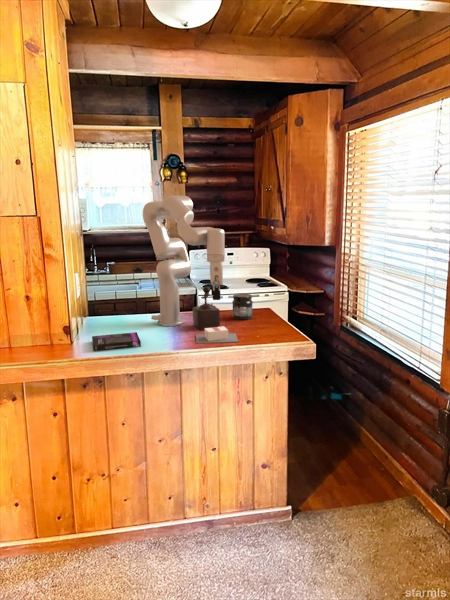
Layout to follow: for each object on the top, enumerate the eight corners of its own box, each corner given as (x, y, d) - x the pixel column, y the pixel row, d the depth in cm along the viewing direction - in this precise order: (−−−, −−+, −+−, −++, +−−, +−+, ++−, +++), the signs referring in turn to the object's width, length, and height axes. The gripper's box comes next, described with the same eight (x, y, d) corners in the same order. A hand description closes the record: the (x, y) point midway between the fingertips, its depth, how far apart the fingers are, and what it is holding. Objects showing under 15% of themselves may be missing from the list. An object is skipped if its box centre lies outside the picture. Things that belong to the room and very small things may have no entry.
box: (137, 339, 199) (92, 342, 193) (137, 331, 198) (91, 335, 193) (140, 348, 186) (92, 352, 180) (140, 340, 185) (91, 344, 180)
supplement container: (243, 314, 237) (243, 292, 235) (256, 318, 229) (257, 295, 227) (228, 317, 231) (228, 295, 228) (241, 321, 223) (241, 298, 220)
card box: (228, 338, 194) (228, 329, 193) (208, 340, 191) (208, 331, 191) (223, 334, 200) (223, 326, 199) (204, 336, 197) (204, 328, 196)
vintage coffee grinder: (221, 328, 212) (221, 291, 208) (200, 331, 208) (199, 293, 204) (209, 320, 226) (209, 285, 222) (189, 322, 221) (188, 287, 218)
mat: (196, 343, 189) (196, 342, 189) (195, 335, 201) (195, 334, 201) (238, 342, 191) (238, 341, 191) (235, 334, 202) (235, 333, 202)
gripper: (226, 260, 180) (226, 301, 184) (222, 255, 197) (222, 292, 201) (207, 261, 180) (208, 302, 184) (206, 255, 197) (206, 293, 201)
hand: (215, 297), depth 192 cm, fingers open, 9 cm apart
